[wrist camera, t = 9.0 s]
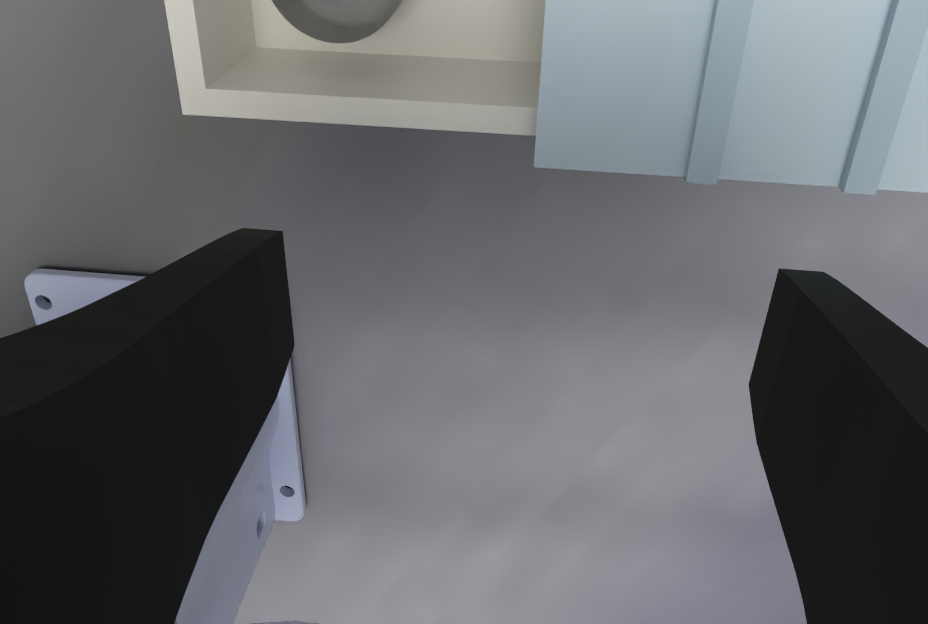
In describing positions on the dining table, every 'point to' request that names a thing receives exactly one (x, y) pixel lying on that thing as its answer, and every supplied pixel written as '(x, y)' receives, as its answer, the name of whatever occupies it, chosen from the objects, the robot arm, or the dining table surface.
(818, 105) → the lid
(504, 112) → the tub
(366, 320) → the dining table surface
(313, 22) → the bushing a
